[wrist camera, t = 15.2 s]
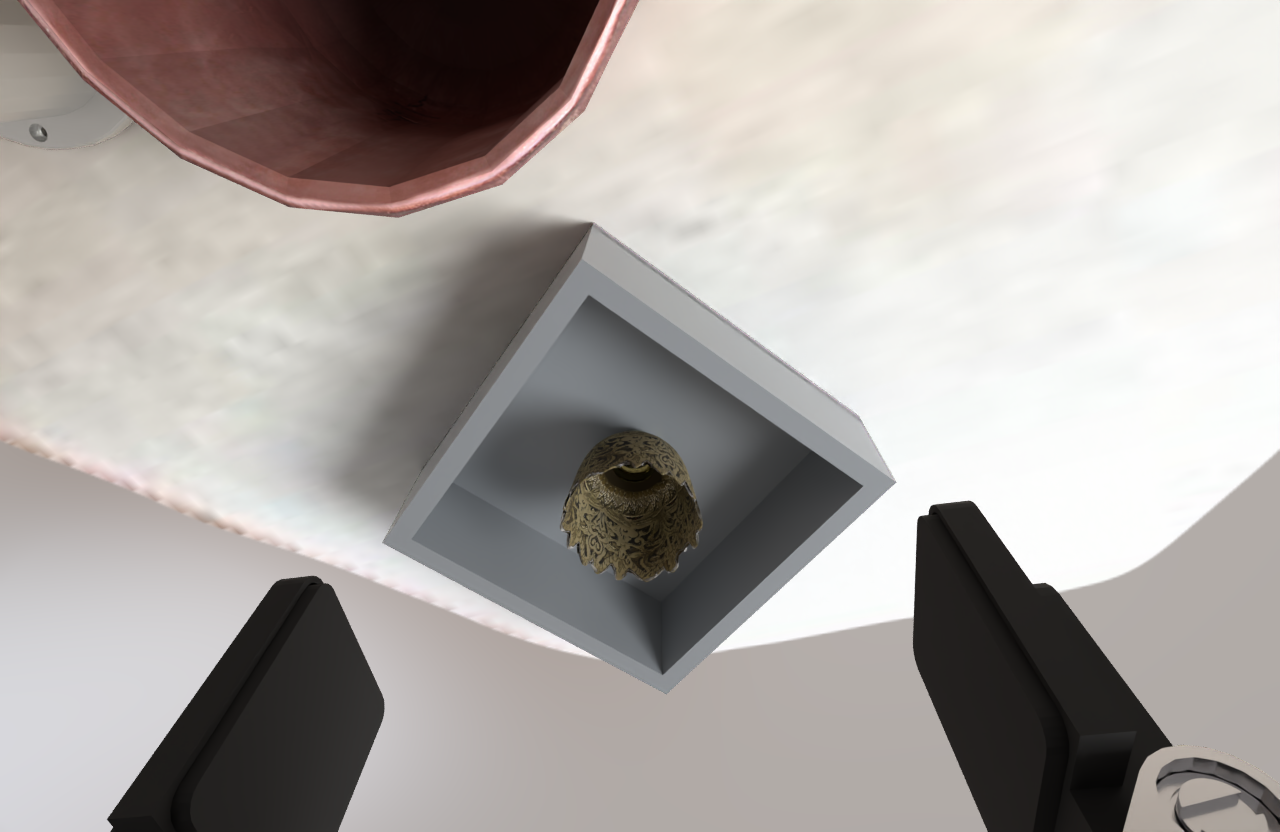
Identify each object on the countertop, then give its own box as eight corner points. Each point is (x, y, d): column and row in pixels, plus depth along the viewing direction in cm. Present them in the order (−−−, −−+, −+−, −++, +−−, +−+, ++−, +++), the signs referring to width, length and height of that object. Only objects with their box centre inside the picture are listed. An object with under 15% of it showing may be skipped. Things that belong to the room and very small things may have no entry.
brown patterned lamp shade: (621, 374, 41) (615, 442, 34) (718, 439, 43) (731, 516, 36) (552, 461, 44) (533, 539, 37) (646, 518, 46) (645, 603, 39)
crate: (421, 471, 46) (382, 542, 39) (593, 222, 38) (581, 258, 32) (664, 610, 51) (666, 694, 44) (859, 416, 44) (896, 482, 37)
